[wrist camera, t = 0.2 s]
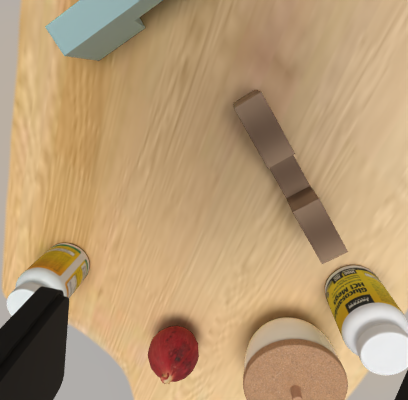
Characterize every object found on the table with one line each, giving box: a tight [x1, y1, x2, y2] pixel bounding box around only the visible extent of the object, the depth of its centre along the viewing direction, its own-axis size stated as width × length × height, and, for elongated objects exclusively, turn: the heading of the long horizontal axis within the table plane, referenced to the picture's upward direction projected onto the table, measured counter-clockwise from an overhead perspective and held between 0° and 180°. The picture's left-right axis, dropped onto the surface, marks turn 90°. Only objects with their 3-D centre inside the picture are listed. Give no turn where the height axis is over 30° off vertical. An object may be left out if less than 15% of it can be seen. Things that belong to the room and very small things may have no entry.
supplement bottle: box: [7, 243, 89, 316], centre depth 40 cm, size 5×5×10 cm
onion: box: [148, 326, 199, 384], centre depth 43 cm, size 6×6×8 cm
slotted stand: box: [234, 90, 348, 264], centre depth 35 cm, size 16×2×8 cm, turn 31°
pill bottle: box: [325, 265, 408, 375], centre depth 38 cm, size 6×6×11 cm
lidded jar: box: [243, 317, 348, 400], centre depth 41 cm, size 11×11×9 cm
